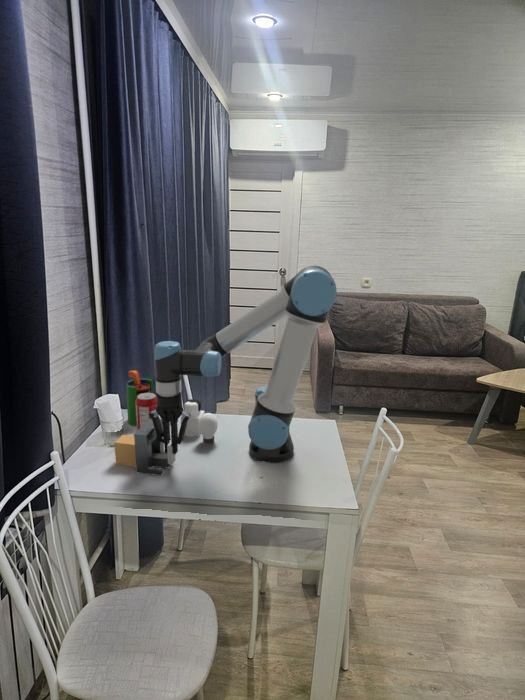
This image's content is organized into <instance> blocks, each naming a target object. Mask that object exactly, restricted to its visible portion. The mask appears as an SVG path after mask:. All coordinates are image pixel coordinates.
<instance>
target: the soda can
mask: <svg viewBox="0 0 525 700" xmlns="http://www.w3.org/2000/svg"><path fill="white" fill-rule="evenodd" d="M135 405H136V422H137V426H136V432H137V431H138V430H139V429H140V428H141V427H142V426H143V425H144V424H145V423H146V422H147V421H148V420H149V419H150V416H149V414H150V413H151V412H152V411H153V410H154V411H155V410H156V407H157V399H156V394H155V393H142V394H139V395H138V396H137V399H136V401H135ZM158 416H159V415H158ZM159 417H160V416H159Z"/></svg>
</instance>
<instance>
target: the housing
mask: <svg viewBox="0 0 525 700" xmlns="http://www.w3.org/2000/svg"><path fill="white" fill-rule="evenodd" d="M159 419H160V422H161V425H162V429H163V424H162V419H161V418H159ZM133 436H134V440H135V456H136V466H135V469H136V474H138V473H139V474H147V475H154V476H162V475H163V473H164V468H163V467H155V466H152V453H160V454H167V453H165V446H164V443H163V442H159V441H158V438H157V435H156V431H155V428H154V425H153V421H152V419H151V418H150V419H149V420H148V421H147V422H146V423H145V424H144V425H143V426H142V427H141V428H140V429H139V430H138V431H137V430H136V431H135V433H134V434H133ZM175 457H177V456H176V454H175Z"/></svg>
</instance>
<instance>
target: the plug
mask: <svg viewBox="0 0 525 700" xmlns="http://www.w3.org/2000/svg"><path fill="white" fill-rule="evenodd" d="M113 444H114V454H115V455H114V456H115V465H122V466H131V467H136V456H135V440H134V435H127V434H122V435H121V436H119V438H118V439H117V440H116V441H114V443H113ZM171 465H172V464H168V454H160V453H152V467H155V468H163V469H169V467H170V466H171Z"/></svg>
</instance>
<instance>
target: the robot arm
mask: <svg viewBox="0 0 525 700" xmlns="http://www.w3.org/2000/svg"><path fill="white" fill-rule="evenodd" d="M337 293H338V291H337V284H336V281H335V279H334V278H333V277H332V275H331V273H330V272H329V271H328V270H327V269H325V268H324V267H322V266H318V265H309V266H306V267H304V268H302V269H301V270H300V271H299V272H297V273H296V274H295V275H294V276H293V277H292V278H291V279H289V280H288V281H287V282H285V283H284V284H283V285H282V286H281V289H280V291H277V292H276V293H275V294H273V295H271V296H270V297H269V298H267V299H266V300H264V301H263V302H261V303H260V304H258V305H256V306H255V307H254V308H253V309H251V310H249V311H247V312H246V313H245V314H242V315H241V316H240V317H239V318H237V319H235V320H234V321H233V322H231V323H229V325H226V326H225V327H223V328H222V329H220V330H219V331H218V332H216V334H213V335H212V336H210V337H208V338H205V339H204V340H203V341H202V342H201V343H200V345H199V346H198V347H197V348H196V349H195V350H194V349H191V350H190V349H182V347H181V345H180V342H178V341H173V340H164V341H160V342H158V343H156V344H155V345H154V357H153V361H154V373H155V392H156V394H155V395H156V399H157V407H156V410H155V411H154V410H153V411H152V412H151V413H150V414H149V416H150V418H151V419H152V421H153V425H154V428H155V431H156V435H157V438H158V441H159V442H163V443H164V451H165V453H167V454H168V464H171V465H173V464H174V463H175V461H176V456H175V455H176V454H177V453H178V451H179V449H178V448H179V447H178V446H179V445H180V444H182V443H183V441H184V438H185V430H186V426H187V422H188V420H189V418H190V417H191V415H190V414H186V413H185V412H184V408H183V399H182V398H183V395H182V376H192V377H193V376H194V377H204V378H205V377H206V378H209V377H218V376H219V375H220V374H221V370H222V365H223V364H222V362H223V361H222V358H224V357H225V356H227V355H228V354H230V353H231V352H233V351H235V350H236V349H238V348H239V347H240V346H243V344H245V343H247V342H248V341H250V340H252V339H254V338H255V337H256V336H258V335H260V334H261V333H263V332H264V331H266V330H267V329H269V328H271V327H272V326H274V325H275V324H276V323H278V322H279V321H281V320H283V319H284V318H286V317H287V318H288V319H287V322H286V325H285V327H284V330H283V335H282V338H281V341H280V343H279V346H278V350H277V352H276V356H275V360H274V362H273V365H272V369H271V372H270V375H269V378H268V381H267V385H264V386H260V387H258V388H256V390H255V393H254V398H255V399H254V400H255V401H254V402H255V403H254V408H253V410H252V415H251V418H250V421H249V422H248V423H249V424H248V427H247V429H248V430H247V431H248V432H247V433H248V437H249V439H250V442H249V446H248V452H249V454H250V455H249V456H251V457H252V458H253V459H254V460H256V461H259V462H262V463H267V464H268V463H269V464H276V463H277V464H278V463H283V462H286V461H288V460H290V459H292V457H293V455H294V451H295V447H294V443H293V439H292V436H291V432H290V425H291V423H292V421H293V417H294V415H295V411H296V405H295V404H294V402H293V401H294V398H295V395H296V392H297V389H298V386H299V384H300V382H301V378H302V377H301V376H302V374H303V372H304V369H305V366H306V363H307V359H308V358H309V354H310V352H311V348H312V345H313V343H314V339H315V336H316V334H317V331H318V328H319V327H320V326H322V325H324V324H326V322H327V318H328V317H329V316H328V315H329V312H330V310H331V308H332V307H333V305H334V304H335V301H336V299H337ZM158 415H159V416H158ZM181 416H182V418H181ZM179 418H180V420H181V419H182V420H183V421H182V423H181V422H180V427H178V423H179V422H178V421H179ZM160 419H162V424H163V429H162V425H161V422H160ZM178 428H179V429H178ZM178 430H179V431H178Z"/></svg>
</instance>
